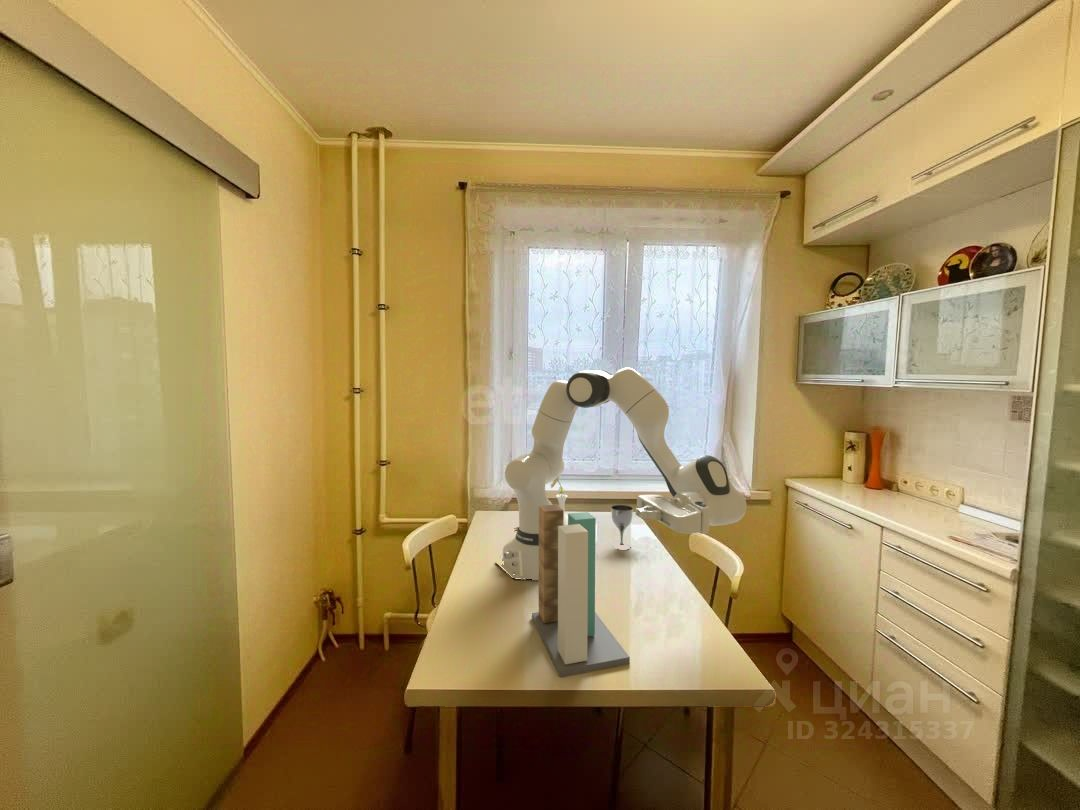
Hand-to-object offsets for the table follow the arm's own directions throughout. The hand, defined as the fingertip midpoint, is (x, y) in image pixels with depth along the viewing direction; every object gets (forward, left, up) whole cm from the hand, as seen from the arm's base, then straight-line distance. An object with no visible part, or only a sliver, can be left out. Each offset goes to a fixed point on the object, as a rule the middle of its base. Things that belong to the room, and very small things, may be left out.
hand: (638, 513), depth 104 cm
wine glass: (-37, +40, -29) cm, 62 cm away
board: (-7, -15, -29) cm, 33 cm away
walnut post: (-16, -15, -27) cm, 35 cm away
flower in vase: (-67, +37, -29) cm, 82 cm away
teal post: (-6, -14, -27) cm, 31 cm away
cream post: (-1, -22, -27) cm, 35 cm away
